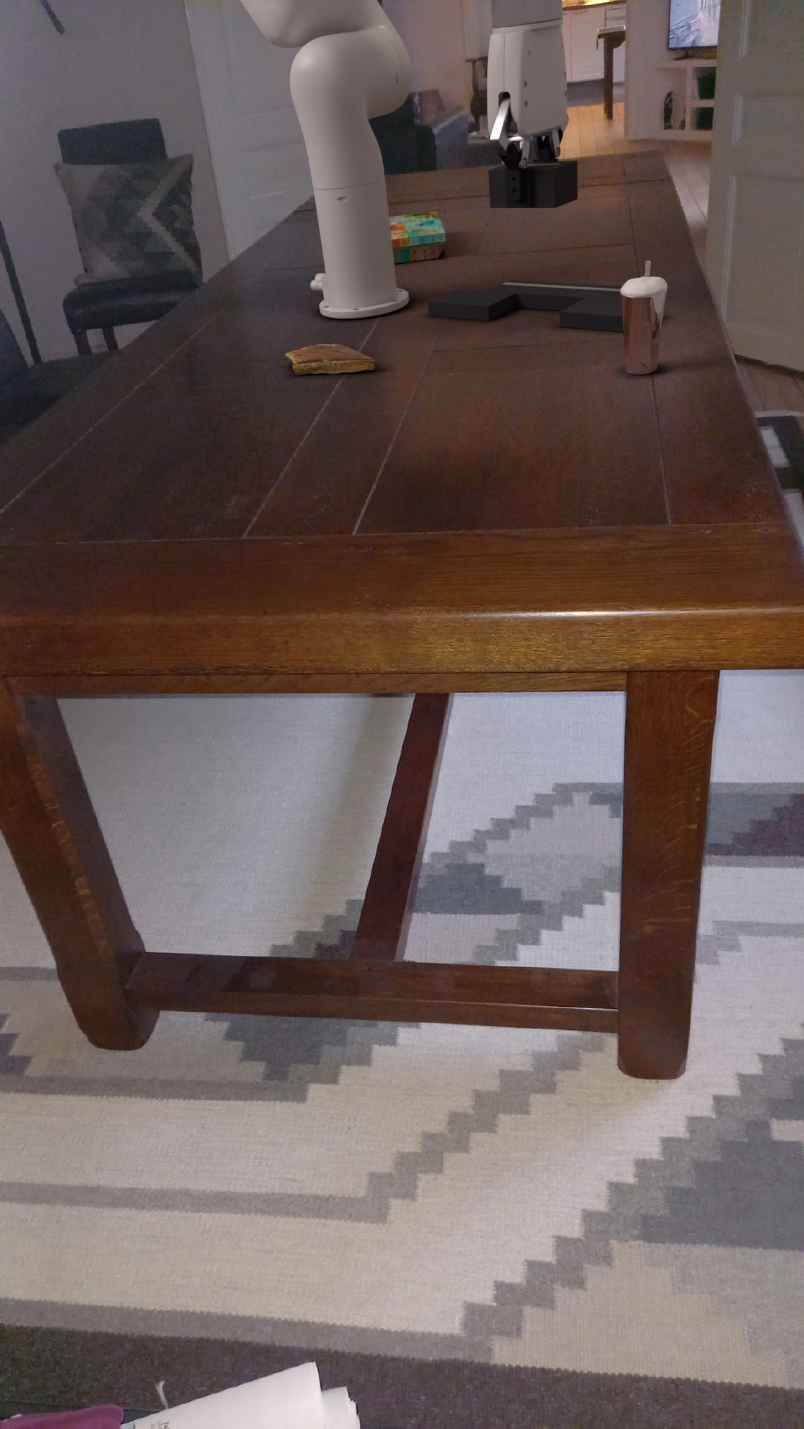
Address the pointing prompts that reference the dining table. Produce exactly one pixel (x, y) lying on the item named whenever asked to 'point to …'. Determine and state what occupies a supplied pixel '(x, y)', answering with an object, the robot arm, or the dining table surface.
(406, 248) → the puzzle game
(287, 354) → the toasted sandwich half
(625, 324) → the milkshake
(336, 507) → the dining table surface
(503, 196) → the pad
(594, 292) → the socket pad
